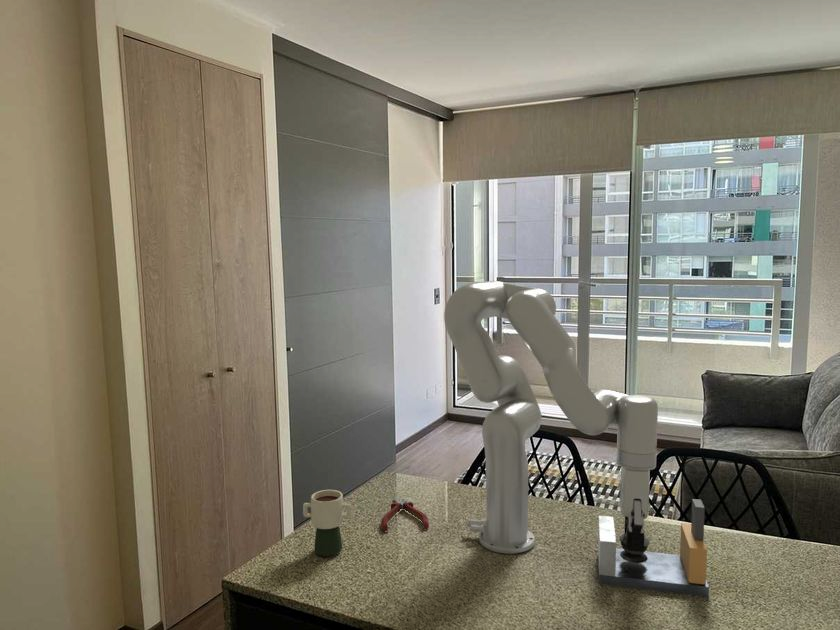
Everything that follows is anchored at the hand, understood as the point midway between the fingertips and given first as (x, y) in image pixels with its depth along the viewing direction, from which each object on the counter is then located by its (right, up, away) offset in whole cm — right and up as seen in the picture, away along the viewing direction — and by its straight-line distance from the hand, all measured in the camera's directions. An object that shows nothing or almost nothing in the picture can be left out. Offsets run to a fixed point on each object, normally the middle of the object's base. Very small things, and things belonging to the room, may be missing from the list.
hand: (633, 542), depth 125 cm
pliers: (-47, -5, +30) cm, 55 cm away
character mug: (-64, -7, +11) cm, 65 cm away
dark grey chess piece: (0, -3, 0) cm, 3 cm away
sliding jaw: (+11, -5, -2) cm, 12 cm away
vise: (+3, -7, 0) cm, 7 cm away
